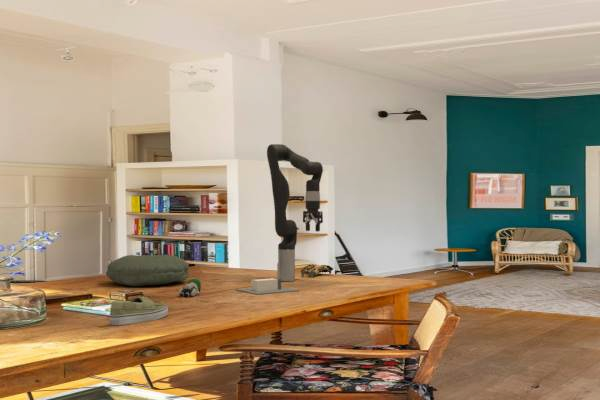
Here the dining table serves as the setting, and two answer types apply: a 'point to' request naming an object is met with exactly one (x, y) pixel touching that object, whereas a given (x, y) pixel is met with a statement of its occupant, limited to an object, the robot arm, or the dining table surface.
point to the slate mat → (267, 291)
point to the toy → (191, 288)
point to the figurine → (316, 270)
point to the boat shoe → (136, 311)
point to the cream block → (266, 284)
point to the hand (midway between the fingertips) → (312, 231)
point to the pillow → (147, 270)
